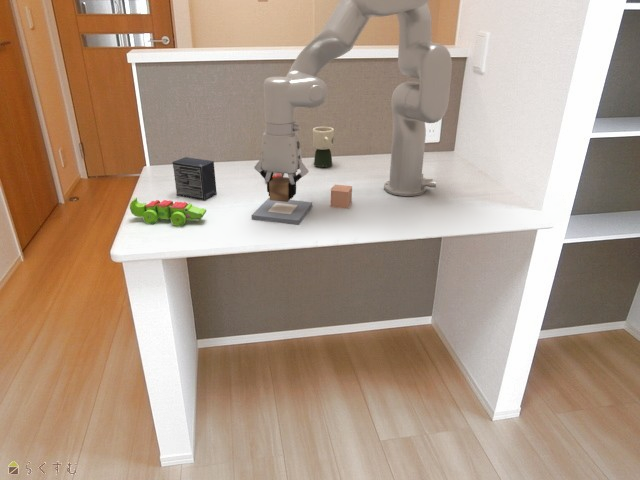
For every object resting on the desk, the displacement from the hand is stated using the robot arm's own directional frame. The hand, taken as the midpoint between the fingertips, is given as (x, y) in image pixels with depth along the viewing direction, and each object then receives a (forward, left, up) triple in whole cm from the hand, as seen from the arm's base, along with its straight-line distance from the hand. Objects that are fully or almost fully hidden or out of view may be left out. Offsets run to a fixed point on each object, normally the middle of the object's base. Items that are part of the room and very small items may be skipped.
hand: (281, 195), depth 133 cm
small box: (+29, -6, -5) cm, 30 cm away
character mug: (0, -43, -5) cm, 44 cm away
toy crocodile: (+27, +13, -6) cm, 30 cm away
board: (0, 0, -5) cm, 5 cm away
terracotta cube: (-14, -10, -5) cm, 18 cm away
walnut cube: (0, 0, -1) cm, 1 cm away
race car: (+12, -27, -6) cm, 30 cm away
